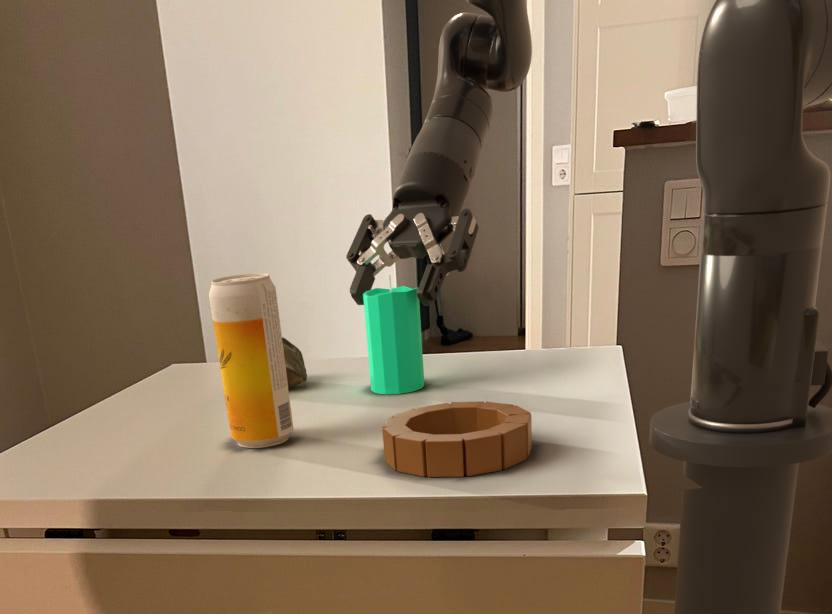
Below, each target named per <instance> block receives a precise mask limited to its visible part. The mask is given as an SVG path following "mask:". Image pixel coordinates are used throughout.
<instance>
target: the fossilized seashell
mask: <svg viewBox="0 0 832 614" xmlns="http://www.w3.org/2000/svg"><path fill="white" fill-rule="evenodd" d="M282 343H283V350H284V358H285V366H286V374H287V382H288V389H289V388H293V387H295V386H298V385H301V384H303V383H306V381H308V373H307V368H306V365H305V359H304V356H303V353H302V351H301V350H300V349H299V348H298V347H297V346H296V345H295V344H293V343H292V342H291V341H289V340H288V339H287V338H285V337H283V336H282Z"/></svg>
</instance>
